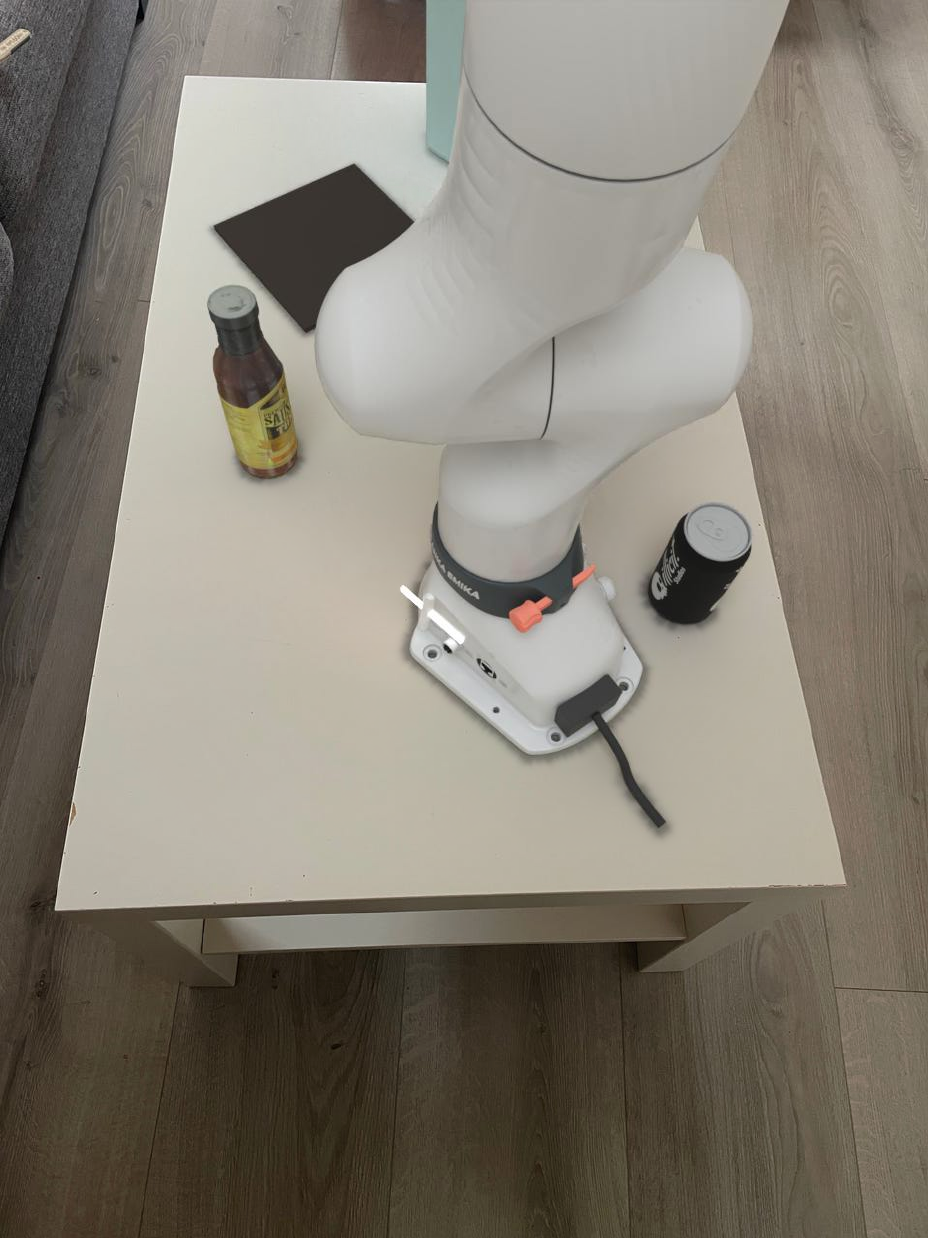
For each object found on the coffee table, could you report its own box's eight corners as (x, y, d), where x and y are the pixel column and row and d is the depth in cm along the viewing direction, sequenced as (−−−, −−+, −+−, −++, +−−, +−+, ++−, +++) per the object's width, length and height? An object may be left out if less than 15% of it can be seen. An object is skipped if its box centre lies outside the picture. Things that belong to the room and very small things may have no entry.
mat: (449, 260, 101) (449, 256, 100) (305, 332, 95) (305, 328, 94) (354, 167, 107) (354, 162, 107) (214, 229, 101) (213, 225, 101)
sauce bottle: (289, 486, 86) (254, 340, 68) (229, 474, 86) (179, 326, 68) (308, 435, 89) (279, 283, 71) (250, 424, 89) (206, 270, 71)
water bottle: (411, 130, 111) (407, -101, 89) (480, 112, 113) (494, -117, 91) (442, 177, 107) (447, -51, 85) (513, 158, 109) (536, -69, 87)
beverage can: (692, 640, 80) (733, 578, 69) (633, 601, 81) (665, 535, 71) (726, 592, 82) (772, 524, 72) (668, 555, 84) (704, 484, 73)
